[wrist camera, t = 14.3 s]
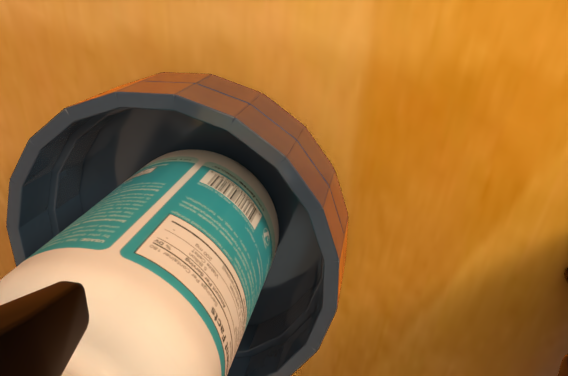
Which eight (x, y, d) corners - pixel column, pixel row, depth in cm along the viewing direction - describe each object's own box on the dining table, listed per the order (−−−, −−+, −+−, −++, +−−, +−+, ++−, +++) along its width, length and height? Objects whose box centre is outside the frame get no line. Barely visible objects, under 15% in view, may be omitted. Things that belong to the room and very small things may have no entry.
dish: (414, 206, 22) (419, 259, 18) (240, 377, 28) (214, 446, 24) (151, 0, 20) (91, 6, 16) (30, 227, 26) (-36, 272, 22)
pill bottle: (133, 264, 25) (-107, 527, 13) (136, 128, 22) (-172, 310, 10) (272, 299, 24) (153, 617, 12) (296, 163, 21) (168, 409, 9)
